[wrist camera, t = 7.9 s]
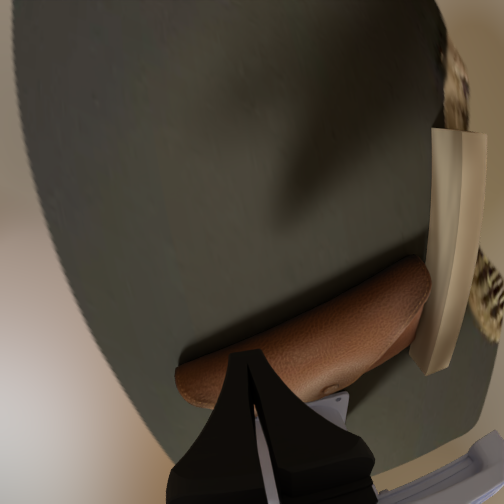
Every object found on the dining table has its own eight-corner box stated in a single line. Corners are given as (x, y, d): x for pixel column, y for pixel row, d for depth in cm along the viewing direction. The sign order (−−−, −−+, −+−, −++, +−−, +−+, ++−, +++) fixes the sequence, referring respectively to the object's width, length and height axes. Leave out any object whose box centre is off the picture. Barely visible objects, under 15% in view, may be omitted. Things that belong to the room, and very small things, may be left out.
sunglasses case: (230, 425, 24) (213, 465, 17) (192, 353, 25) (162, 375, 18) (424, 332, 23) (464, 345, 16) (392, 256, 24) (426, 247, 17)
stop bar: (408, 353, 24) (425, 376, 21) (431, 127, 17) (462, 131, 14) (430, 346, 24) (448, 366, 21) (456, 129, 17) (486, 134, 14)
